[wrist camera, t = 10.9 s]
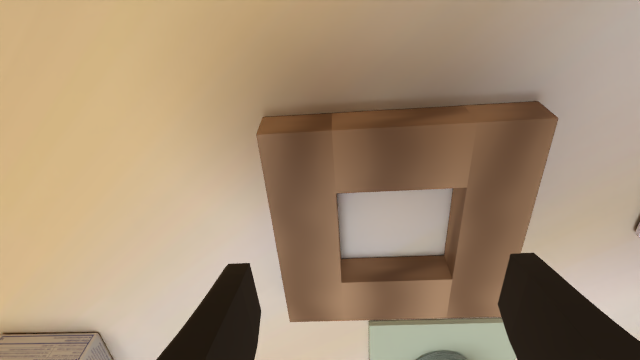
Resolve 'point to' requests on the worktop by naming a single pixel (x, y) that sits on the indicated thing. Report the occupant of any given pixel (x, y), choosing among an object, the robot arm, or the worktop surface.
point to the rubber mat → (439, 339)
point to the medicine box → (53, 347)
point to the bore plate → (394, 175)
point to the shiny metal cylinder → (443, 356)
